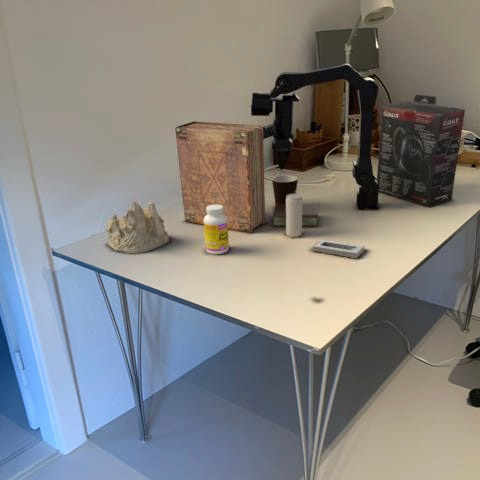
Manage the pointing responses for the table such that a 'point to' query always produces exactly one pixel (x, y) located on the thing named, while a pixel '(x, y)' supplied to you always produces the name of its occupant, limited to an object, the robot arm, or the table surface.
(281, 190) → the coffee mug
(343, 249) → the picture frame
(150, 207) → the beige rock formation
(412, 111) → the headset box
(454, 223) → the table surface
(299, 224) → the beverage can
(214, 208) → the supplement bottle
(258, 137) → the book
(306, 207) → the dark wooden slab
